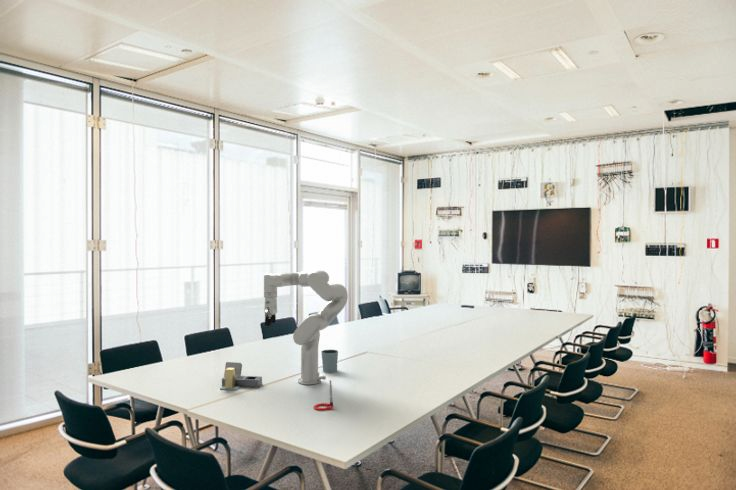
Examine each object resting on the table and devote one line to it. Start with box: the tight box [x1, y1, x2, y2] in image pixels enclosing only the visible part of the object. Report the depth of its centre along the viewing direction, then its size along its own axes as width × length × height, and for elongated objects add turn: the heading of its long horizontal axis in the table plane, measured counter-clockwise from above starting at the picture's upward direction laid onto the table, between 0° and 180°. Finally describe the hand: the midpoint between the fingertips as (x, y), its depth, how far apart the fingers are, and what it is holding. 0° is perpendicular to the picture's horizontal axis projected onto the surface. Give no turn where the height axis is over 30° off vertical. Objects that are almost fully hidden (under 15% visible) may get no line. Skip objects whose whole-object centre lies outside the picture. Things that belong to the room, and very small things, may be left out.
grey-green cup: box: [321, 349, 339, 374], centre depth 298 cm, size 10×10×12 cm
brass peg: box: [224, 368, 235, 389], centre depth 261 cm, size 4×4×10 cm
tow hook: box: [313, 380, 334, 412], centre depth 232 cm, size 8×13×9 cm
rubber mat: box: [220, 386, 241, 391], centre depth 261 cm, size 9×5×1 cm, turn 84°
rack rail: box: [221, 375, 263, 389], centre depth 268 cm, size 20×7×4 cm, turn 84°
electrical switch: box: [223, 361, 243, 378], centre depth 282 cm, size 9×5×9 cm, turn 78°
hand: (270, 324), depth 285 cm, fingers open, 9 cm apart
